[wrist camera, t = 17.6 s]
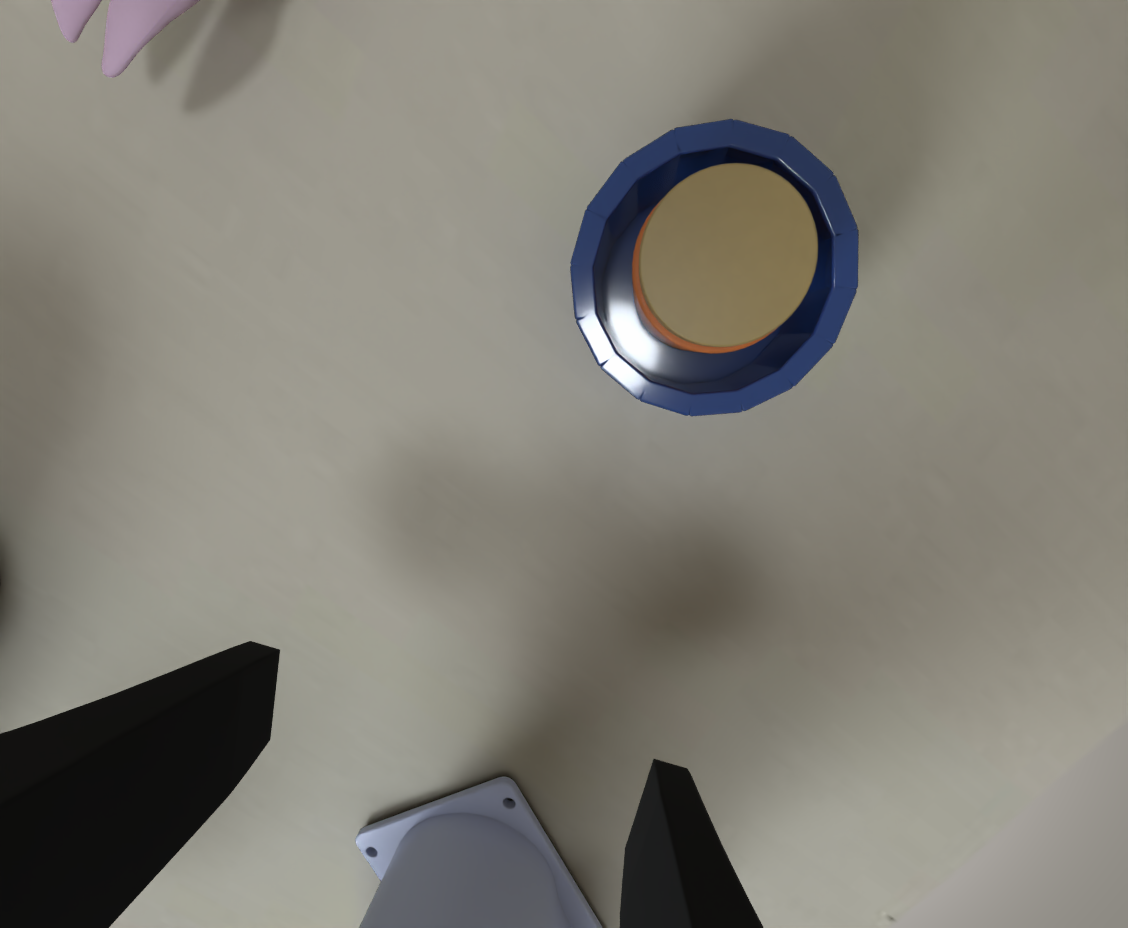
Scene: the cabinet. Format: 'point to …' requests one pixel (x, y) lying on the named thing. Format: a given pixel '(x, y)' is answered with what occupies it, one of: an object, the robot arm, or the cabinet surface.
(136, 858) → the robot arm
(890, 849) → the cabinet surface
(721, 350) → the cream-capped orange cylinder
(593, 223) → the cup
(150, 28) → the pink toy
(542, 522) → the cabinet surface
